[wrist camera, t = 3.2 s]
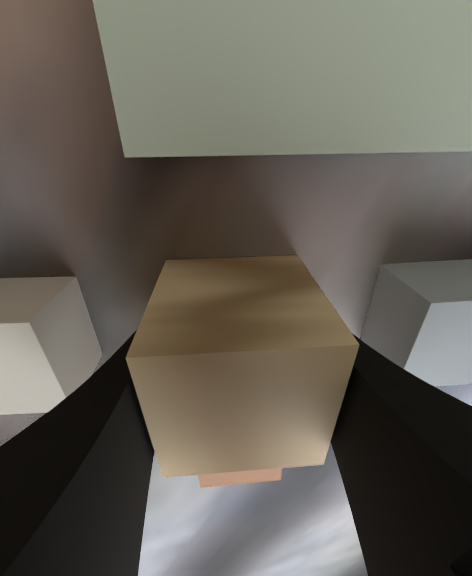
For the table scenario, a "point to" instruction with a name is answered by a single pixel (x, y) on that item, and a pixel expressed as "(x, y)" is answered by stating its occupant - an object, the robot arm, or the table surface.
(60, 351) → the light grey block
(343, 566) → the table surface
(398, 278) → the grey-blue block
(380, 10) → the sage board
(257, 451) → the maple block
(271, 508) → the table surface
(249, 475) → the terracotta block
